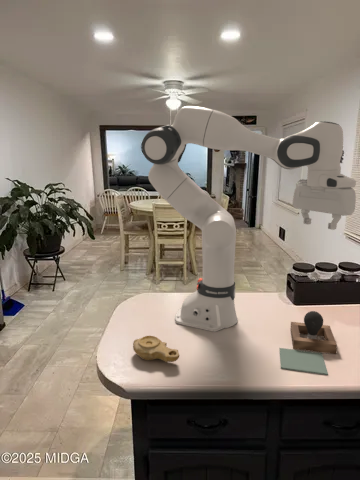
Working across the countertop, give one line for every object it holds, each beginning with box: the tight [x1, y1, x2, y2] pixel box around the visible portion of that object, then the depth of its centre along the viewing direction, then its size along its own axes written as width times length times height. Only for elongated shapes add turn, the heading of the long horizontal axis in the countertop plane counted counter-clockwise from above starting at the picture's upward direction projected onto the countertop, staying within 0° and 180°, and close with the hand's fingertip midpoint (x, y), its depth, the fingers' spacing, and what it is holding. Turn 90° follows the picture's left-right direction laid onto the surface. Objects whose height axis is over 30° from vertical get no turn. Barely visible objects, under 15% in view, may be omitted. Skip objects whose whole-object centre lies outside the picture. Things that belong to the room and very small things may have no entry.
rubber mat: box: [279, 347, 329, 376], centre depth 93 cm, size 12×10×1 cm
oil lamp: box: [132, 335, 180, 363], centre depth 95 cm, size 11×14×5 cm
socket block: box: [289, 321, 338, 355], centre depth 103 cm, size 12×12×3 cm
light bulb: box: [303, 310, 324, 339], centre depth 102 cm, size 6×6×10 cm
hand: (319, 226), depth 99 cm, fingers open, 8 cm apart
